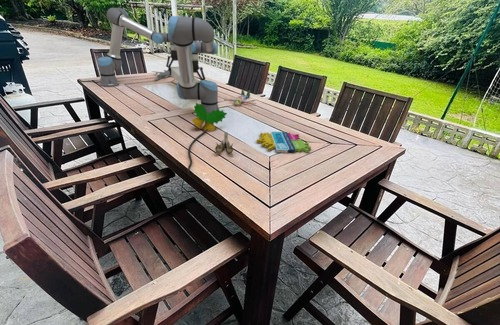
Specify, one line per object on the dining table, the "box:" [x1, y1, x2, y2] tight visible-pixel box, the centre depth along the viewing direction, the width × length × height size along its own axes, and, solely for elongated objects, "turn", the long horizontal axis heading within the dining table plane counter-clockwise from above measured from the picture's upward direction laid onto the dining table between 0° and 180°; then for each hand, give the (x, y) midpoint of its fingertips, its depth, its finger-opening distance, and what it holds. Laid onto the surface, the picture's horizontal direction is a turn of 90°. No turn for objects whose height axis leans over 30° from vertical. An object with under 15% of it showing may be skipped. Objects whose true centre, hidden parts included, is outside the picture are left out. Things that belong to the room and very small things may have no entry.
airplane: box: [151, 65, 172, 81], centre depth 281 cm, size 38×31×10 cm
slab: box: [169, 66, 200, 83], centre depth 227 cm, size 72×10×7 cm, turn 27°
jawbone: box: [214, 131, 234, 156], centre depth 136 cm, size 9×15×10 cm
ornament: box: [191, 102, 228, 132], centre depth 162 cm, size 21×8×15 cm, turn 105°
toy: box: [223, 89, 257, 106], centre depth 219 cm, size 28×7×30 cm
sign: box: [256, 131, 312, 154], centre depth 152 cm, size 26×2×30 cm
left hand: (176, 74), depth 251 cm, fingers closed on slab, 10 cm apart
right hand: (194, 89), depth 207 cm, fingers closed on slab, 10 cm apart
